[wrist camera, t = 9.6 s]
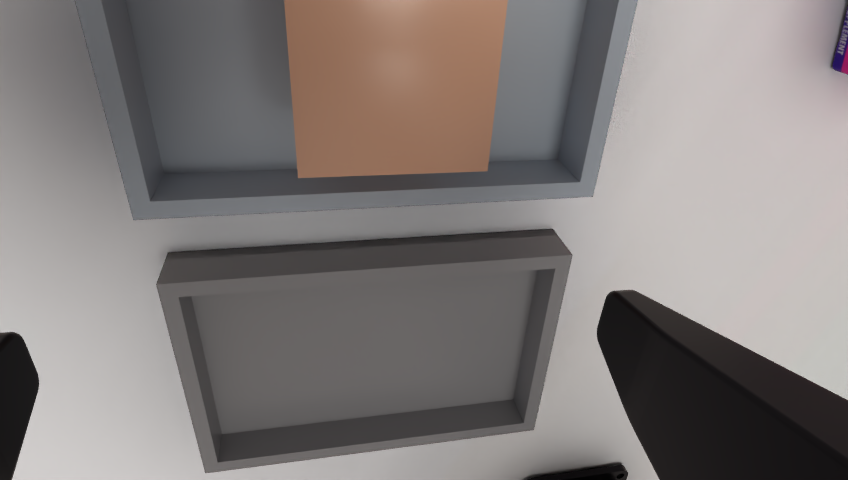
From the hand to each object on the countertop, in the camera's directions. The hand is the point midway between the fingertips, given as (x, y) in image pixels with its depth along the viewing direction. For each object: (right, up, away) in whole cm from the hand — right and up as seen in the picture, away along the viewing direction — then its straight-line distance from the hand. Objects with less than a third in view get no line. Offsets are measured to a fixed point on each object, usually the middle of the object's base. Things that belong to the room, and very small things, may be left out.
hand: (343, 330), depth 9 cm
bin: (-1, -3, +16) cm, 16 cm away
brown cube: (0, +8, +9) cm, 12 cm away
